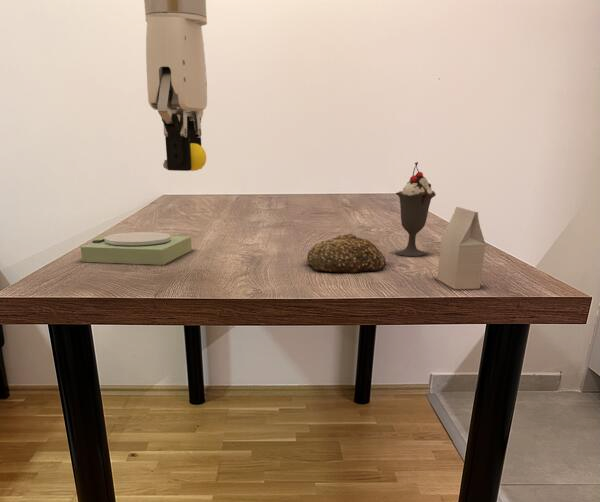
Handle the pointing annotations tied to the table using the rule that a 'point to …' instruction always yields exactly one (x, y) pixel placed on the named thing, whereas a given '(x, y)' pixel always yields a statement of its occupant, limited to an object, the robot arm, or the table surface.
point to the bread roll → (345, 255)
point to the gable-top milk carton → (462, 251)
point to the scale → (136, 248)
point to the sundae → (414, 209)
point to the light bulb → (194, 157)
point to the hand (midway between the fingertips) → (185, 168)
